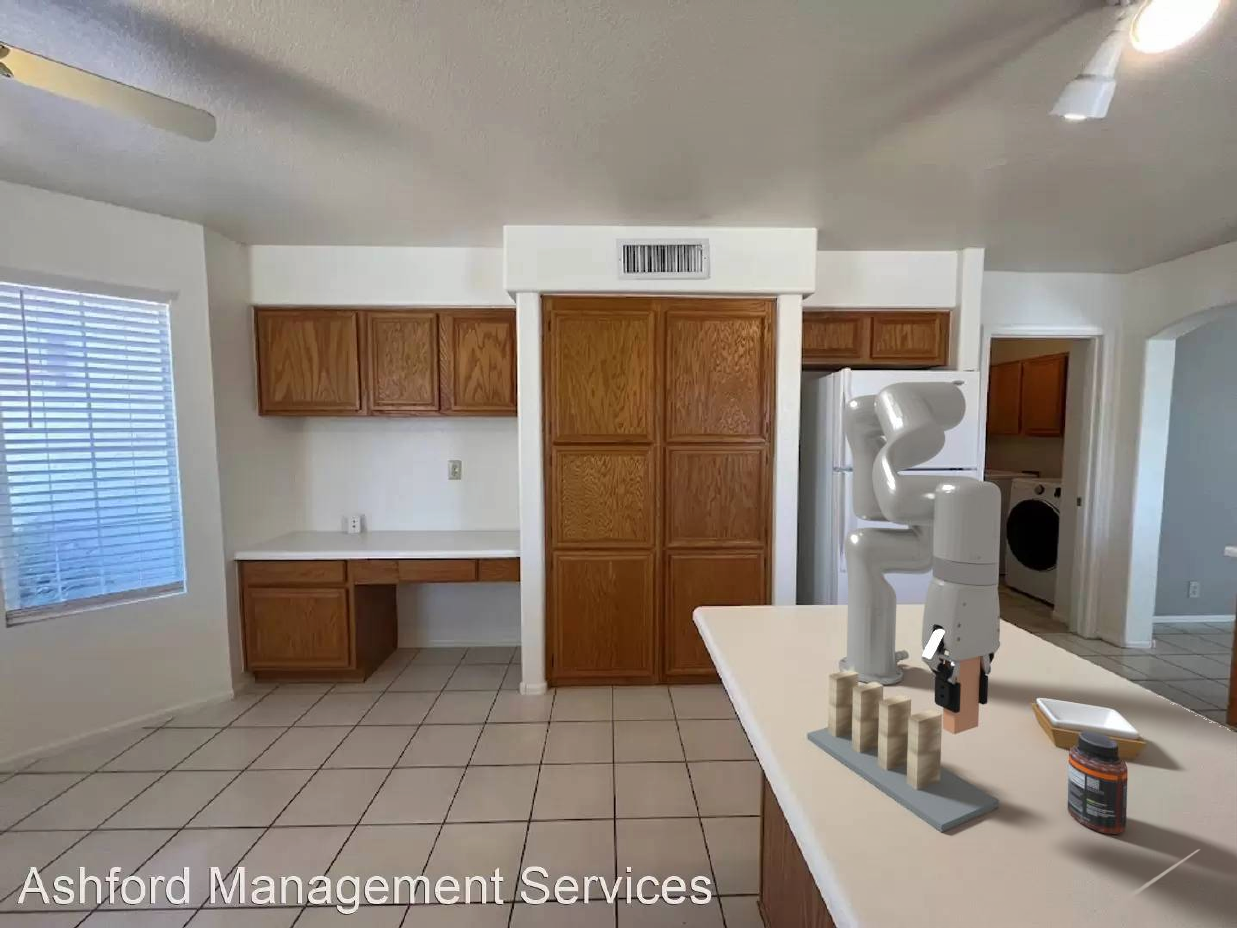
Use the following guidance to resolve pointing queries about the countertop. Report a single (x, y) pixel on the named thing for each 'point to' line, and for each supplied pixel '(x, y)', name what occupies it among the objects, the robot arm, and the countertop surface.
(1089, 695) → the countertop surface
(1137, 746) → the soap dish
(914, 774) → the domino
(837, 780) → the countertop surface
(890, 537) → the robot arm
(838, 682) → the domino
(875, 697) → the domino
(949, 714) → the domino
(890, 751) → the domino
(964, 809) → the runway mat
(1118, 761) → the supplement bottle
